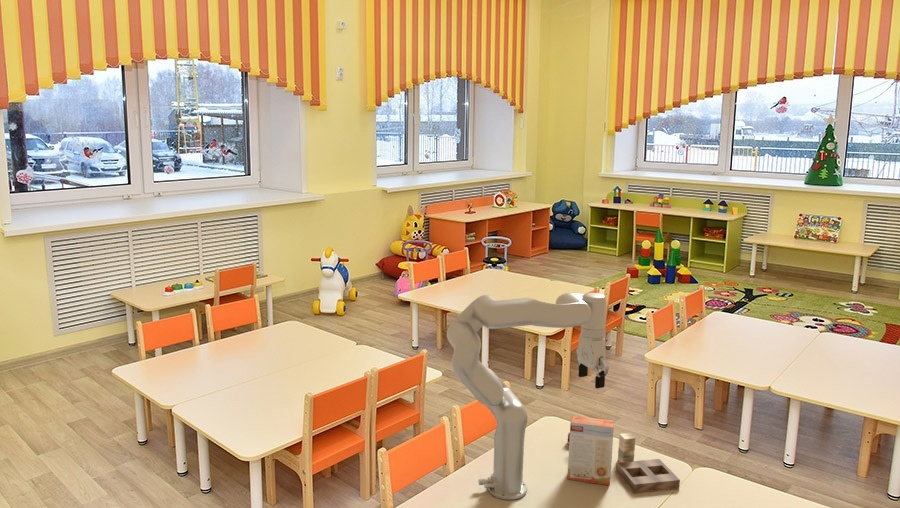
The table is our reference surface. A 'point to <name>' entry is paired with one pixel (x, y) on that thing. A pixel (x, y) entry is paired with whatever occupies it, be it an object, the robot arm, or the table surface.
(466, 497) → the table surface
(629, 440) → the peg
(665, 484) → the peg board
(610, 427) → the cracker box
